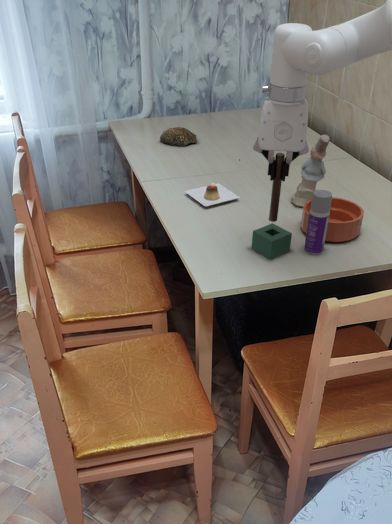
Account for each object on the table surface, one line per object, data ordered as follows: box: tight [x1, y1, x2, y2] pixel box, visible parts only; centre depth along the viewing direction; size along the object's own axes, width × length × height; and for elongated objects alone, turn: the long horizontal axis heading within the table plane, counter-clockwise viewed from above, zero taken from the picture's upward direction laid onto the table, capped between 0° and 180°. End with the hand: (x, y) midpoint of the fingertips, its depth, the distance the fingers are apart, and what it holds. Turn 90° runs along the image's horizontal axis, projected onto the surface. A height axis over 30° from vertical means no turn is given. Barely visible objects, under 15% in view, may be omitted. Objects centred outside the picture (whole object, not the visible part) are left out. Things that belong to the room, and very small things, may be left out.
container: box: [303, 189, 333, 256], centre depth 131 cm, size 5×5×15 cm
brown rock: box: [159, 126, 198, 147], centre depth 196 cm, size 13×12×5 cm
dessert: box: [183, 181, 241, 208], centre depth 158 cm, size 12×12×5 cm
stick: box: [268, 152, 286, 223], centre depth 126 cm, size 2×2×16 cm
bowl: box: [300, 196, 365, 243], centre depth 143 cm, size 15×15×6 cm
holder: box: [251, 222, 293, 260], centre depth 135 cm, size 7×7×5 cm
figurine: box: [291, 134, 331, 208], centre depth 152 cm, size 9×8×20 cm
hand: (277, 178), depth 124 cm, fingers closed on stick, 2 cm apart
